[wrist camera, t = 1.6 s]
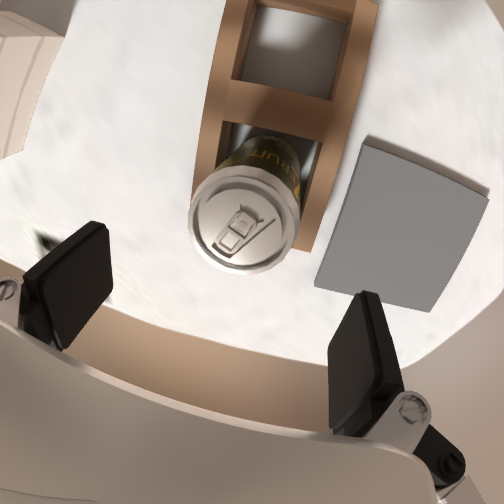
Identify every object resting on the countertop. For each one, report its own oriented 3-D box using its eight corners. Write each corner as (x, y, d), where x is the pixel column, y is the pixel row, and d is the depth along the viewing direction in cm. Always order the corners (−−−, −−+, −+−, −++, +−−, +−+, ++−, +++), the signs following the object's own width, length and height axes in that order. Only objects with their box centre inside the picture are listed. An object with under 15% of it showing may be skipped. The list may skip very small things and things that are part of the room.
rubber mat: (361, 143, 21) (364, 144, 20) (485, 196, 21) (489, 199, 20) (314, 281, 28) (314, 286, 28) (427, 308, 28) (429, 312, 27)
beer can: (273, 207, 25) (252, 296, 15) (222, 171, 24) (164, 236, 14) (313, 161, 22) (325, 223, 12) (260, 121, 21) (223, 145, 11)
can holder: (242, -11, 15) (233, -26, 12) (367, 15, 15) (378, 4, 12) (201, 206, 26) (188, 222, 23) (309, 232, 26) (310, 252, 23)
